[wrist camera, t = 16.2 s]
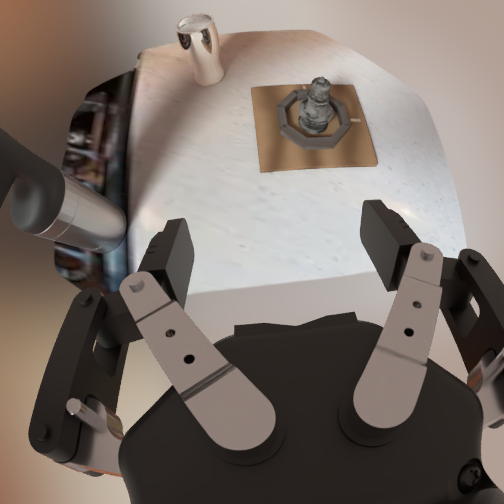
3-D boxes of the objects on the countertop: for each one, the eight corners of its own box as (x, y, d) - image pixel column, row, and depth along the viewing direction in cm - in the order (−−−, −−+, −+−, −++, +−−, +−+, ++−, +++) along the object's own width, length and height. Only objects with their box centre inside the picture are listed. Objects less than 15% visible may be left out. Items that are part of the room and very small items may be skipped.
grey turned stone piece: (324, 140, 44) (337, 97, 32) (291, 128, 44) (296, 82, 33) (333, 116, 44) (347, 72, 32) (302, 104, 45) (309, 59, 33)
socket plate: (260, 172, 45) (259, 164, 42) (251, 90, 47) (250, 81, 44) (375, 166, 44) (381, 159, 41) (351, 88, 46) (354, 78, 43)
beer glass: (232, 78, 48) (221, 23, 33) (199, 92, 48) (180, 38, 33) (218, 61, 49) (205, 8, 34) (188, 73, 49) (169, 23, 34)
